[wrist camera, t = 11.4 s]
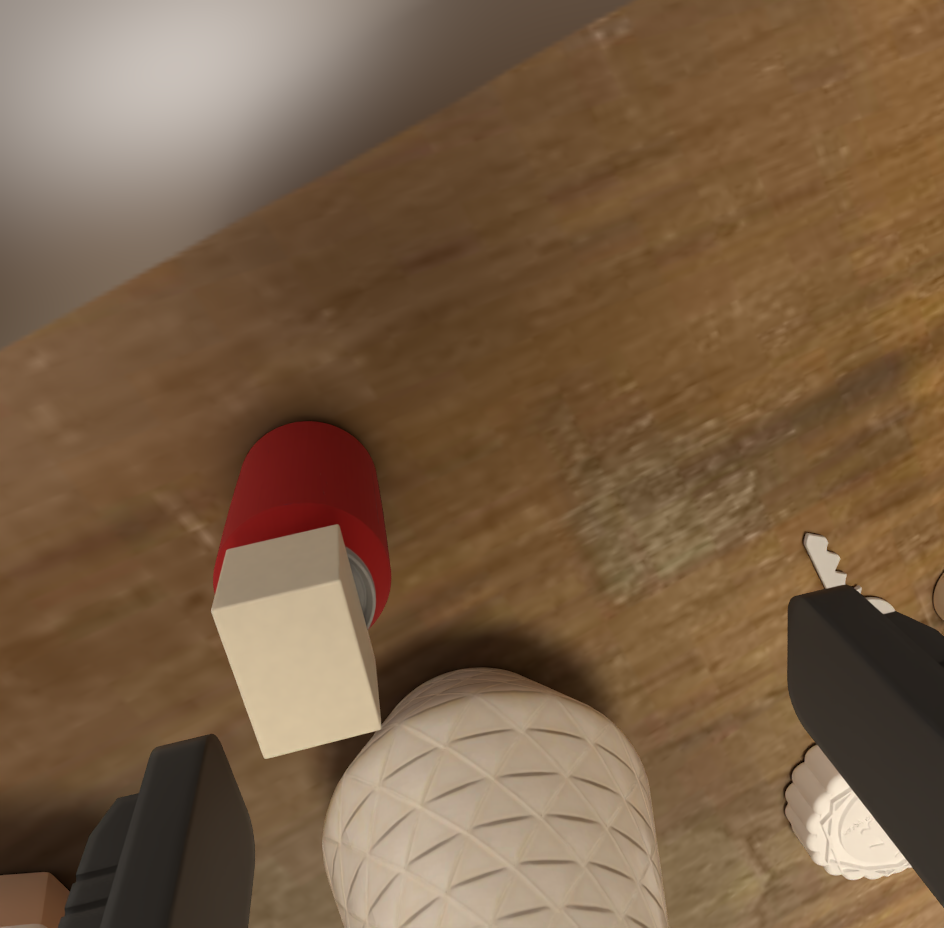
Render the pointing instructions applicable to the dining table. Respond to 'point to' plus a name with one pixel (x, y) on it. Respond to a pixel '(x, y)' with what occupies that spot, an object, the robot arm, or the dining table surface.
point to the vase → (494, 814)
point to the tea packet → (298, 641)
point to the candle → (939, 597)
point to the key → (834, 568)
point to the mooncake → (837, 823)
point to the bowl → (31, 900)
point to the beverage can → (313, 501)
